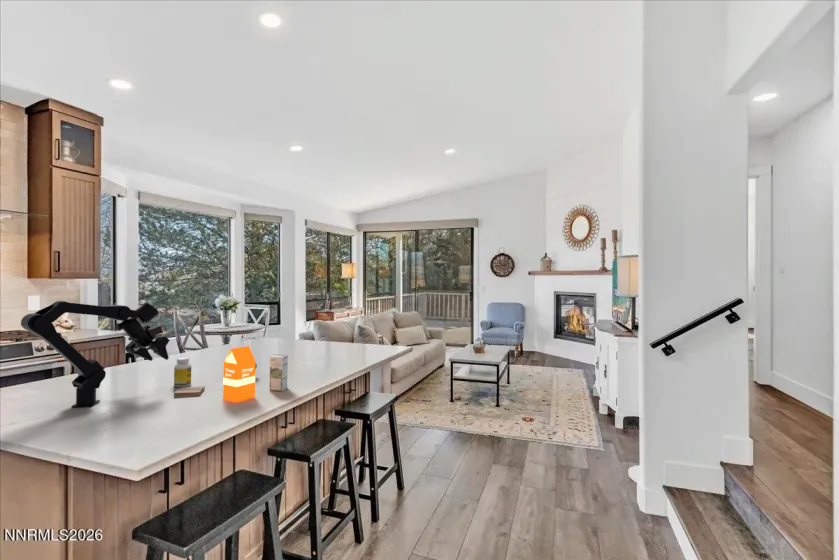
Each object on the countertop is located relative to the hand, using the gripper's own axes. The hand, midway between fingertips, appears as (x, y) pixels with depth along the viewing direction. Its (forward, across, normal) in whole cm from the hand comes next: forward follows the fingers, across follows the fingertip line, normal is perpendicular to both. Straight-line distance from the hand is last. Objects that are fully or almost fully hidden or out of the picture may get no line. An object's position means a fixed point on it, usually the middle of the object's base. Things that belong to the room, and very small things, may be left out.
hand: (159, 359), depth 178 cm
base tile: (+12, -14, +8) cm, 20 cm away
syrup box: (+27, -41, -6) cm, 50 cm away
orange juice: (+17, -36, +7) cm, 41 cm away
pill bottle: (+16, -1, 0) cm, 16 cm away
